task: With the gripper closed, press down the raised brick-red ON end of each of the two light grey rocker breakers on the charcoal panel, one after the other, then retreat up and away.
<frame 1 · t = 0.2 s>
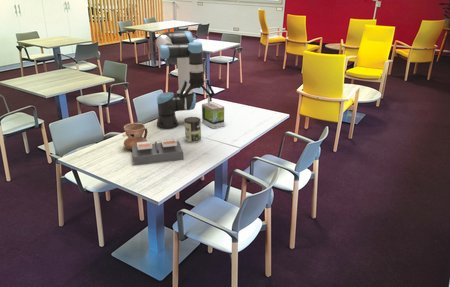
hand: (197, 108, 211), 28 cm above the table, tool pointing down, fingers open, 13 cm apart
tea box: (213, 124, 265), on the table
breaker panel: (157, 156, 217), on the table
coffee can: (193, 139, 240), on the table
ceramic jug: (137, 147, 229), on the table
breaker 1: (144, 145, 212), point 8 cm above the table, hinge at -12.0°
breaker 2: (168, 142, 215), point 8 cm above the table, hinge at -12.0°
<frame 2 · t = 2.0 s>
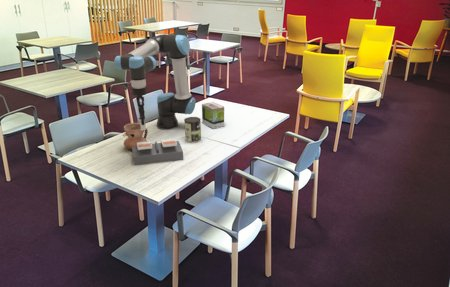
hand: (142, 127, 202), 21 cm above the table, tool pointing down, fingers open, 8 cm apart
nothing on the table moved.
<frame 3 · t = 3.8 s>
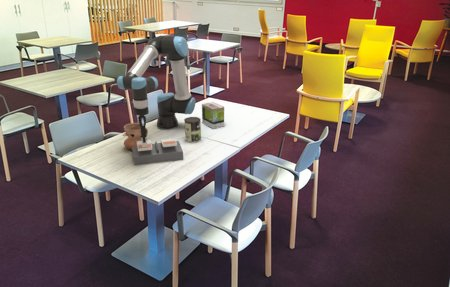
hand: (144, 147, 207), 9 cm above the table, tool pointing down, fingers closed
breaker 1: (144, 145, 212), point 8 cm above the table, hinge at -5.5°, touching gripper
everything else where it was.
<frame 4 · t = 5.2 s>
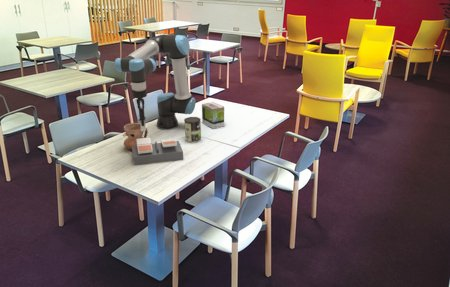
hand: (143, 130, 203), 19 cm above the table, tool pointing down, fingers closed
breaker 1: (144, 145, 212), point 8 cm above the table, hinge at 8.3°
everything else where it was.
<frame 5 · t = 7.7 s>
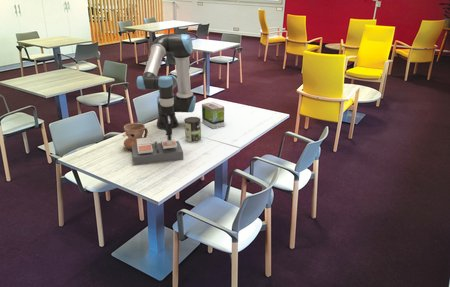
hand: (169, 144, 210), 9 cm above the table, tool pointing down, fingers closed
breaker 1: (144, 145, 212), point 8 cm above the table, hinge at 8.6°
breaker 2: (168, 142, 215), point 8 cm above the table, hinge at -3.9°, touching gripper
everything else where it was.
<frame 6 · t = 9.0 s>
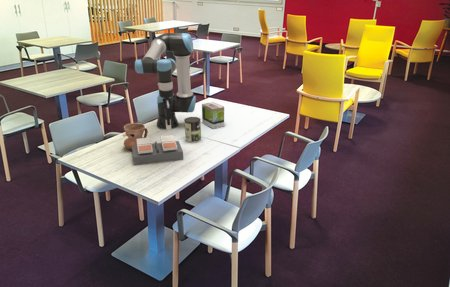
hand: (168, 129, 207), 18 cm above the table, tool pointing down, fingers closed
breaker 2: (168, 142, 215), point 8 cm above the table, hinge at 8.6°
everything else where it was.
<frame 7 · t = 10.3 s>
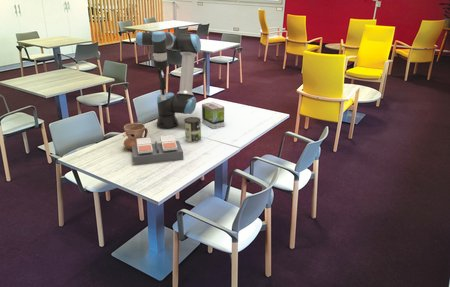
hand: (163, 99, 219), 30 cm above the table, tool pointing down, fingers closed
breaker 2: (168, 142, 215), point 8 cm above the table, hinge at 9.0°
everything else where it was.
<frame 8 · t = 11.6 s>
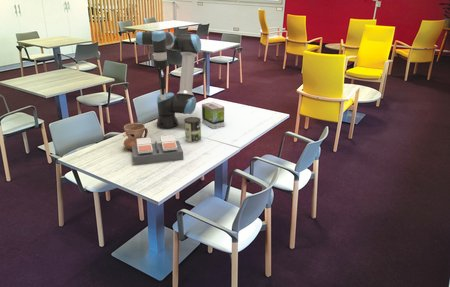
hand: (163, 99, 219), 30 cm above the table, tool pointing down, fingers closed
nothing on the table moved.
at the end: breaker 1 at +9° (first picture: -12°); breaker 2 at +9° (first picture: -12°) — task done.
